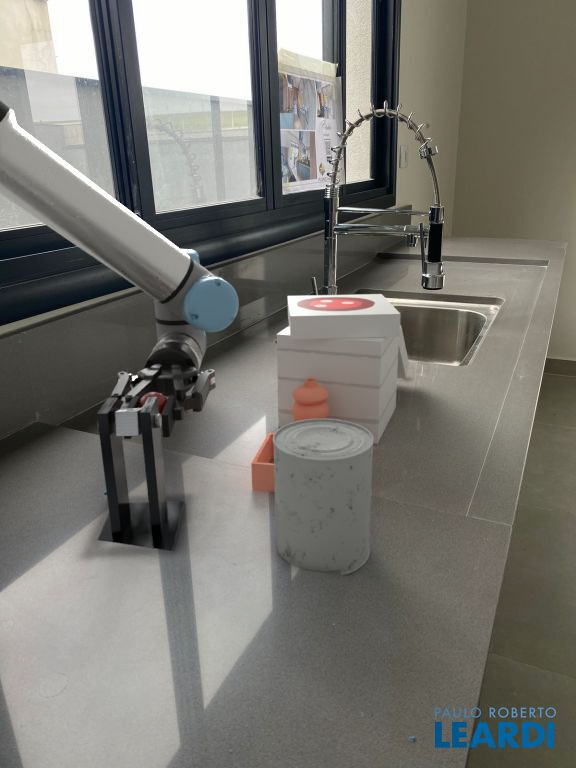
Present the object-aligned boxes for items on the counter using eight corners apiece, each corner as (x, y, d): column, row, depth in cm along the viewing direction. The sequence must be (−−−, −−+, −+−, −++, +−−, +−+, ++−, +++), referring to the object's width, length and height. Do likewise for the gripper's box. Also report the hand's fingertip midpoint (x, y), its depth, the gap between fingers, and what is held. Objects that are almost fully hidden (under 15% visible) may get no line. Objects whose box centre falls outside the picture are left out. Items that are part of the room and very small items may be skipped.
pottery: (332, 502, 70) (332, 423, 67) (252, 495, 72) (249, 418, 68) (347, 439, 86) (348, 374, 83) (282, 435, 88) (281, 371, 85)
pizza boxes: (418, 384, 109) (424, 284, 103) (388, 452, 82) (394, 322, 76) (316, 374, 115) (316, 279, 109) (257, 435, 88) (254, 313, 82)
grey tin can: (264, 532, 64) (261, 425, 60) (347, 517, 67) (350, 413, 63) (291, 587, 55) (290, 466, 51) (386, 567, 58) (391, 450, 54)
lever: (142, 420, 74) (141, 391, 74) (171, 419, 75) (170, 390, 74) (108, 442, 58) (107, 405, 58) (146, 441, 58) (144, 404, 58)
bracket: (114, 512, 68) (99, 389, 64) (185, 509, 69) (175, 386, 64) (91, 565, 59) (71, 425, 54) (173, 562, 59) (161, 423, 54)
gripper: (231, 387, 91) (222, 455, 69) (119, 390, 90) (74, 460, 68) (229, 339, 89) (219, 393, 66) (114, 342, 88) (65, 397, 66)
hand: (146, 426), depth 67 cm, fingers closed on lever, 4 cm apart
